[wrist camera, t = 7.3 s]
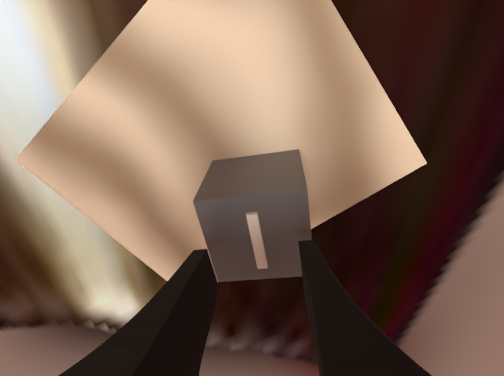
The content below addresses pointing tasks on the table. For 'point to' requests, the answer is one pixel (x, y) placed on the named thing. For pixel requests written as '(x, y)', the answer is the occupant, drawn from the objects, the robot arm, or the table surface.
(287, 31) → the board
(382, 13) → the table surface
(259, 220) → the grey cube
